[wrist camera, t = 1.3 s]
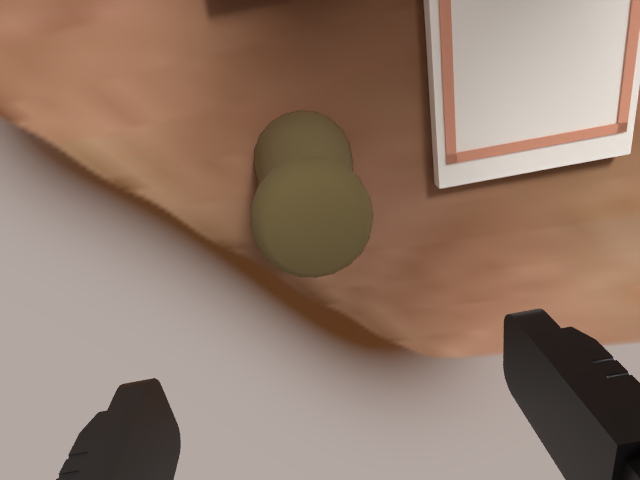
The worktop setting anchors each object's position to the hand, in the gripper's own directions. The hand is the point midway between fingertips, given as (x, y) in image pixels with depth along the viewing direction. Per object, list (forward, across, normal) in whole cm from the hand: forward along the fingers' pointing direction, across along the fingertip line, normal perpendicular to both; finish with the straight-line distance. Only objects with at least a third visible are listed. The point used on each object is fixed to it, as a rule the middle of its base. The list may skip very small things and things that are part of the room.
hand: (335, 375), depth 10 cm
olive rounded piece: (+19, 0, 0) cm, 19 cm away
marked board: (+19, -14, -4) cm, 24 cm away
